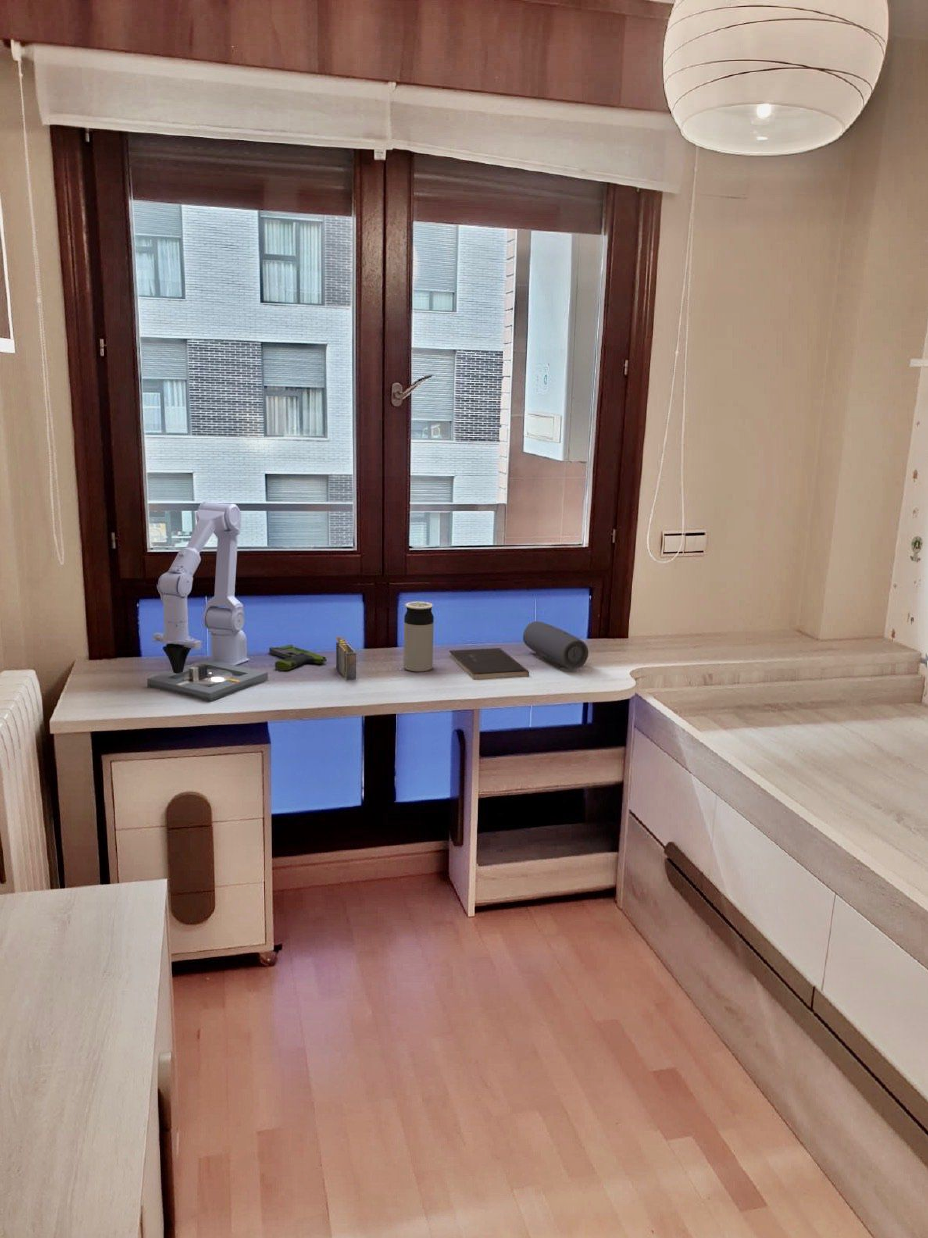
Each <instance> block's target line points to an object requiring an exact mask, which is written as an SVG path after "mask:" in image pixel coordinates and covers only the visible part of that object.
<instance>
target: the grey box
mask: <svg viewBox="0 0 928 1238" xmlns="http://www.w3.org/2000/svg"><path fill="white" fill-rule="evenodd" d="M334 637H335V638H336V639H337V641H336V642H335V643H336V644H335V652H336V653H335V656H336V657H335V666H336V669H337V670H338V671H339V673H340V674H341V675H342V676H343V678H345V680H347V681H348V680H350V681H351V680H356V679H357V652H356V650H354V648H352V646H351V645H350V644H348V642H347V641H346V639H345V638H343V637H339V636H337V635H334Z"/></svg>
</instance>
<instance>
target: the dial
mask: <svg viewBox="0 0 928 1238" xmlns="http://www.w3.org/2000/svg"><path fill="white" fill-rule="evenodd" d="M229 679H233V675H232V673H231V672H228V671H225V670H218V669H207V665H206V664H201V665H198V666H195V667H191V668H189V673H188V674H186V675H185V676H184V681H187V682H190V683H194V684H198V685H203V686H207V687H210V686H214V685H217V684H219V683H222V682H225V681H228V680H229Z"/></svg>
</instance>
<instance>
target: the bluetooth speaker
mask: <svg viewBox="0 0 928 1238" xmlns="http://www.w3.org/2000/svg"><path fill="white" fill-rule="evenodd" d="M522 641H523V643H524V644H525V646H527V648H529V649H530V650H531V651H533V652H534V653H536V654H538V655H539V656H541V659H542V660H543V661H545V662H547V663H548V664H550V665H552V666H554V667H558V668H568V669H571V670H576V669H579V668H581V667H583V666H584V664H585V663H586V662H587V660H588V658H589V648H588V646H587V644H586V643H585V642H584V641H583V640H581V639H580V638H579V637H576V636H574V634H571V633H569V632H567V631H565V630H563V629H561V628H559V627H556V626H554V625H551V624H548V623H545V622H543V621H532V622H530V623H529V624H527V626H526V627H525V629H524V630H523V633H522Z"/></svg>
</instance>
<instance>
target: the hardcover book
mask: <svg viewBox="0 0 928 1238" xmlns="http://www.w3.org/2000/svg"><path fill="white" fill-rule="evenodd" d="M448 652H449V653H450V658H452V659H453V660H454V661H455V663H457V664H458V666H460V667H461V668H462V670H463V671H464V672H466V673H467V674H468V675H469V676H470V677H471V678H472V679H473V680H481V679H482V680H483V679H485V680H486V679H502V678H504V679H505V678H516V677H517V678H519V677H529V676H530V671H529V670H528V669H527V668H526V667H524V666H523V665H522V664H520V662H518V661H517V660H516V659H515V658H513V657H512V656H511V655H509V654H508V653H507V652H506V651H505V650H503V649H502V648H501V647H494V648H492V647H491V648H475V649H474V648H472V649H453V650H449V651H448Z"/></svg>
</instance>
